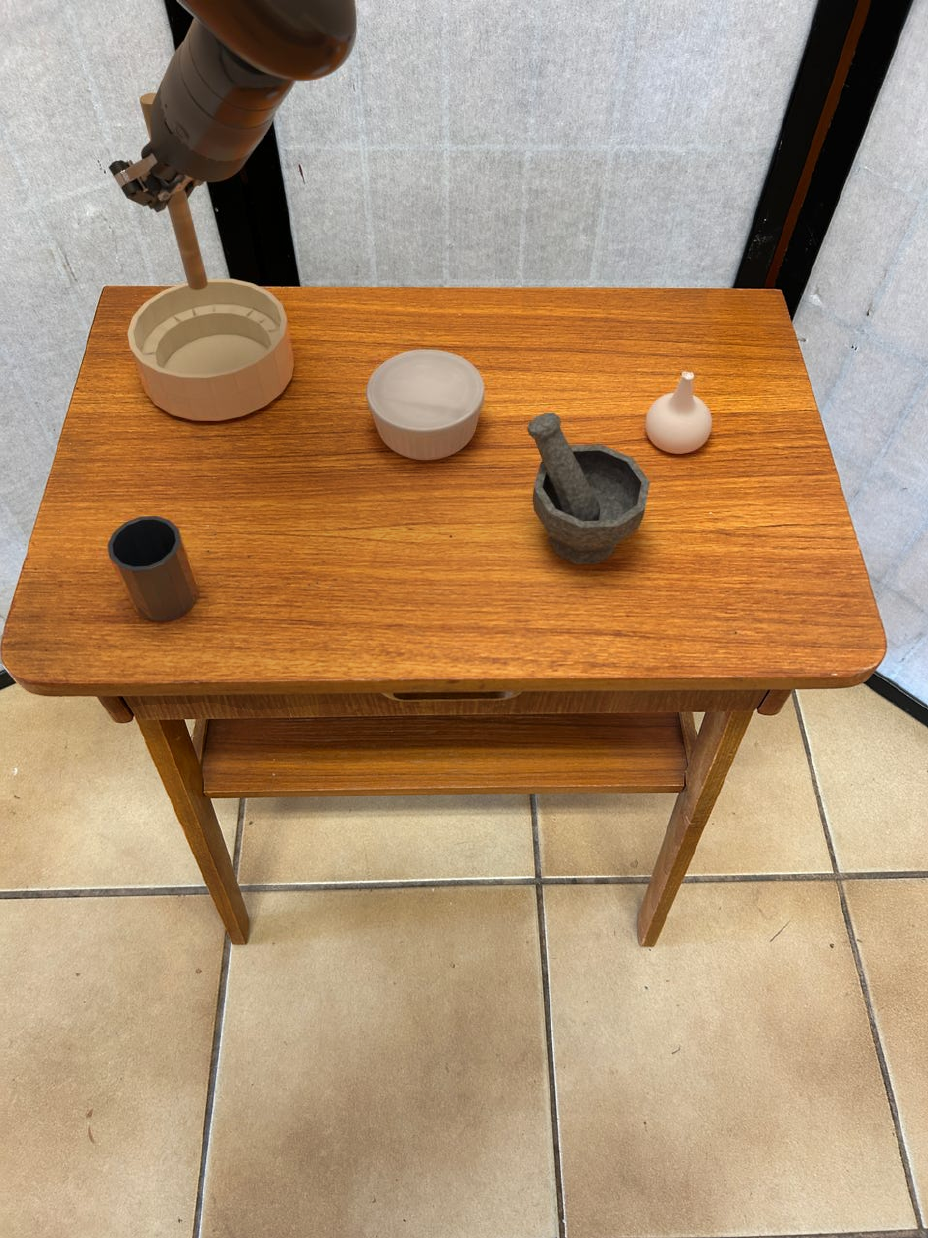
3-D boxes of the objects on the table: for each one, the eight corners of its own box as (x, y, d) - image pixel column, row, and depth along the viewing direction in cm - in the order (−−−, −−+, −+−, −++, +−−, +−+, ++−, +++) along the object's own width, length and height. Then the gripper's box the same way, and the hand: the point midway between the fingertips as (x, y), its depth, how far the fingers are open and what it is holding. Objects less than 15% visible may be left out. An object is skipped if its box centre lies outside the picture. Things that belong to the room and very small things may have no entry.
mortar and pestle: (655, 527, 86) (681, 428, 76) (608, 596, 82) (629, 501, 72) (546, 478, 90) (558, 378, 80) (495, 542, 85) (501, 444, 75)
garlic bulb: (716, 427, 94) (736, 362, 87) (694, 467, 91) (713, 402, 84) (656, 406, 96) (671, 340, 89) (633, 444, 92) (646, 379, 86)
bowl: (154, 439, 92) (137, 390, 87) (136, 342, 100) (120, 293, 96) (308, 407, 95) (300, 359, 90) (278, 315, 103) (270, 267, 98)
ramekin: (388, 482, 89) (385, 440, 85) (355, 404, 95) (351, 362, 91) (500, 454, 91) (502, 412, 87) (461, 380, 97) (462, 338, 93)
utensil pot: (136, 629, 79) (111, 577, 73) (128, 577, 82) (104, 524, 76) (203, 613, 80) (184, 561, 74) (193, 563, 83) (174, 508, 77)
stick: (189, 291, 88) (140, 104, 74) (187, 280, 89) (138, 93, 75) (209, 288, 89) (163, 101, 75) (206, 277, 90) (160, 90, 76)
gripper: (265, 23, 70) (206, 126, 85) (100, 84, 65) (68, 183, 80) (318, 123, 72) (251, 207, 87) (162, 190, 67) (120, 267, 82)
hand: (164, 195), depth 83 cm, fingers closed on stick, 2 cm apart
